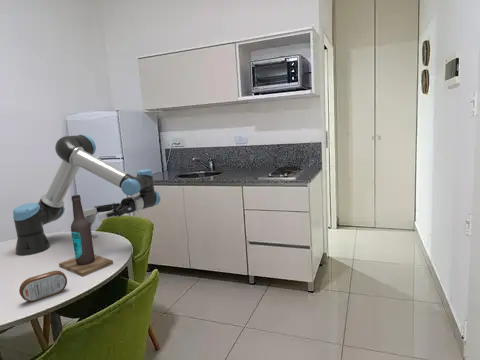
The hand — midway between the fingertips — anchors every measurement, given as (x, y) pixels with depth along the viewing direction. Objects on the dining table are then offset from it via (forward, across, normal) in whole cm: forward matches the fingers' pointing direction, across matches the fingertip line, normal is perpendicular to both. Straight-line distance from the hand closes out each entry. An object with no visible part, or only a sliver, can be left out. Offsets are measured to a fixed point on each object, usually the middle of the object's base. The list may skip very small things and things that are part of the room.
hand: (90, 215), depth 150 cm
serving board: (+5, 0, -21) cm, 22 cm away
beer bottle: (+5, 0, -20) cm, 21 cm away
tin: (+28, -14, -22) cm, 38 cm away
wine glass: (-18, +37, -22) cm, 46 cm away
